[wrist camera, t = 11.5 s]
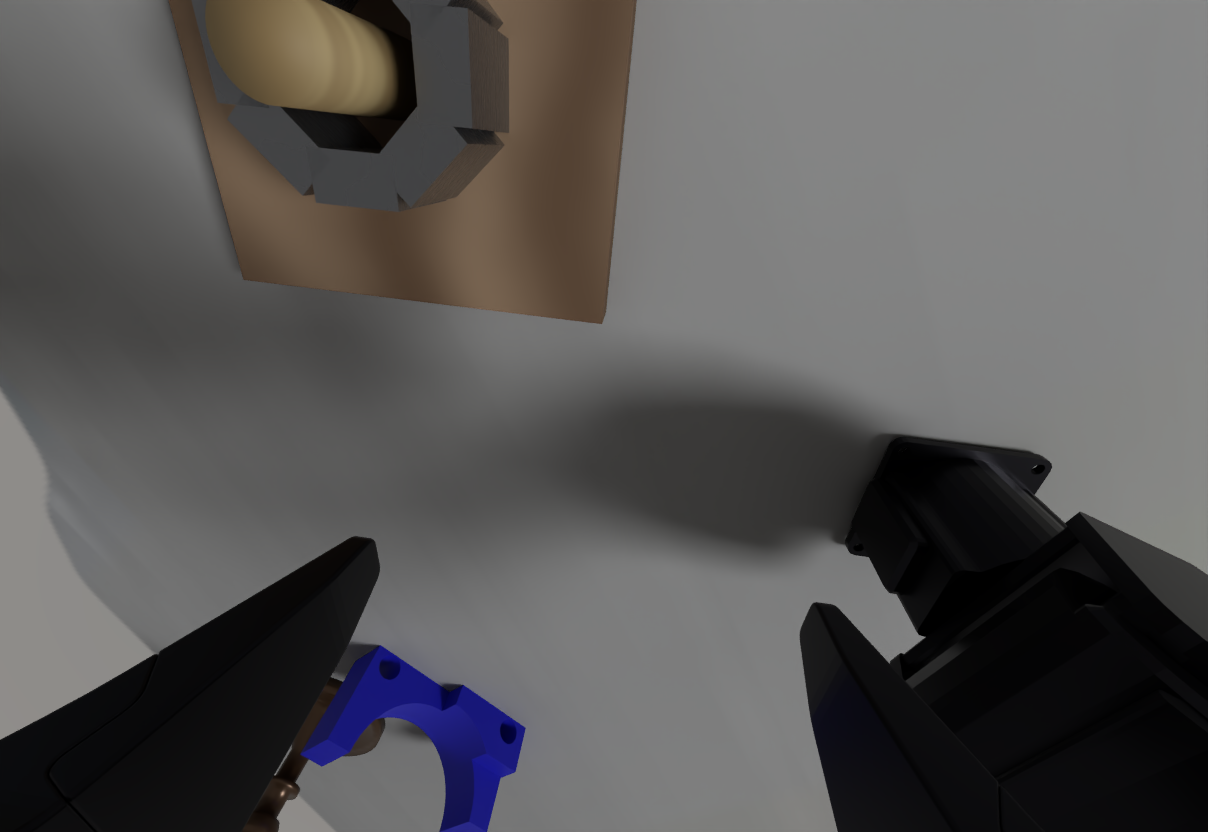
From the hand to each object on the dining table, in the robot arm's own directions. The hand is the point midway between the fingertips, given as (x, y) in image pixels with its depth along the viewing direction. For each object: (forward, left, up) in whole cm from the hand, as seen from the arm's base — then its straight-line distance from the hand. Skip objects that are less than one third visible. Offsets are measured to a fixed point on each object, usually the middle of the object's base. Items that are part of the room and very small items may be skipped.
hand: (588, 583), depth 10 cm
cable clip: (+10, +27, -12) cm, 31 cm away
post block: (+8, -9, -12) cm, 17 cm away
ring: (+8, -9, -10) cm, 16 cm away
